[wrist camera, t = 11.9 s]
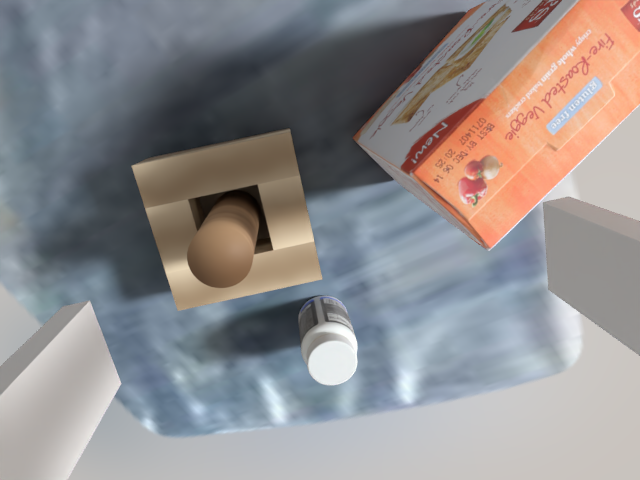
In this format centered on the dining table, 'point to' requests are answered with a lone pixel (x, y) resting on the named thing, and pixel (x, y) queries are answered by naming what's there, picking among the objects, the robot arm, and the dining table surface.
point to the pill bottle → (327, 340)
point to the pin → (226, 241)
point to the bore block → (201, 195)
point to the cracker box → (508, 108)
